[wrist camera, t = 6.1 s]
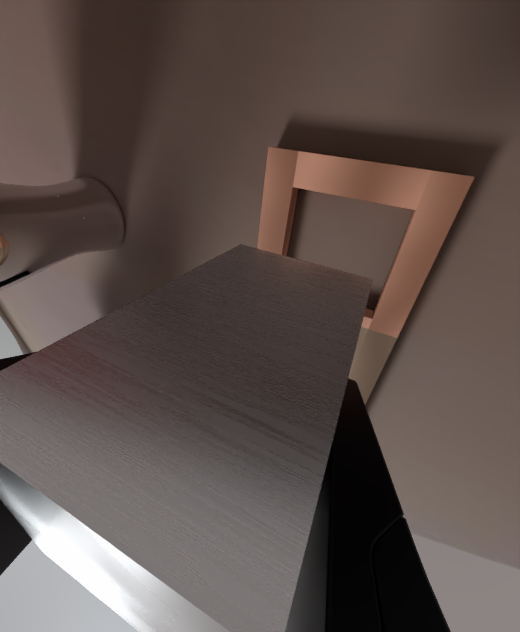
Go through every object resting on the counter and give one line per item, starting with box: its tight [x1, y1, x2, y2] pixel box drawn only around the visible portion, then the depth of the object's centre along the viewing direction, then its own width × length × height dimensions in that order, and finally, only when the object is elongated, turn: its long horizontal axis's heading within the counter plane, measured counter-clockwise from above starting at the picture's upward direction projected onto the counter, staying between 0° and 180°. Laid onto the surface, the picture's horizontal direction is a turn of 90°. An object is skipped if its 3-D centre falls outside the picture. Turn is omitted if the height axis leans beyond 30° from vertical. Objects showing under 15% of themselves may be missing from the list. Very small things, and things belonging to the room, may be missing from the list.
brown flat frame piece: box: [257, 147, 474, 404], centre depth 21 cm, size 10×26×1 cm, turn 173°
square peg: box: [0, 244, 373, 632], centre depth 7 cm, size 4×4×8 cm
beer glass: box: [0, 177, 125, 291], centre depth 19 cm, size 7×7×15 cm
